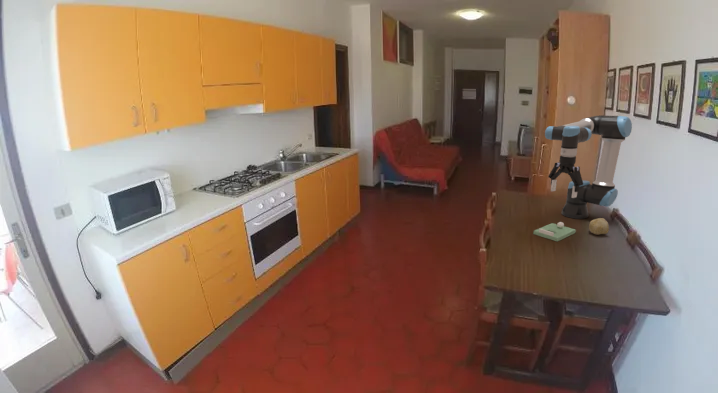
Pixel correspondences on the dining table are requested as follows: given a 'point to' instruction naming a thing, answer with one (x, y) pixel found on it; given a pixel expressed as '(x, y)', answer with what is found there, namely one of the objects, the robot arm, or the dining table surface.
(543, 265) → the dining table surface
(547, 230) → the mat
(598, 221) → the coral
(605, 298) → the dining table surface
